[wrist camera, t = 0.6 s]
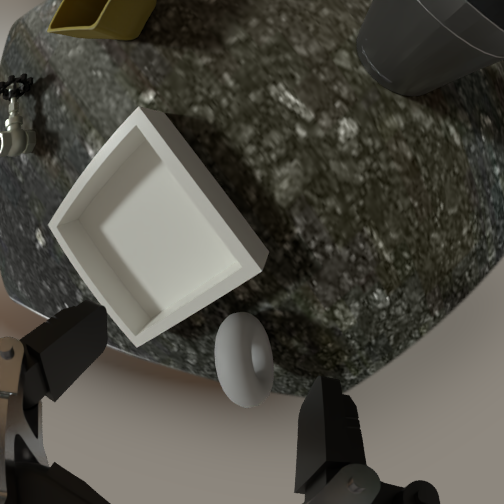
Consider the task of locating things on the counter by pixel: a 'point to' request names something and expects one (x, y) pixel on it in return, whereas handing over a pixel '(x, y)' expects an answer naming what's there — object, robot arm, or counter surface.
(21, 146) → the valve
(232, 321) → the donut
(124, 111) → the counter surface
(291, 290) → the counter surface
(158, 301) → the tray
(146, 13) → the flower pot
